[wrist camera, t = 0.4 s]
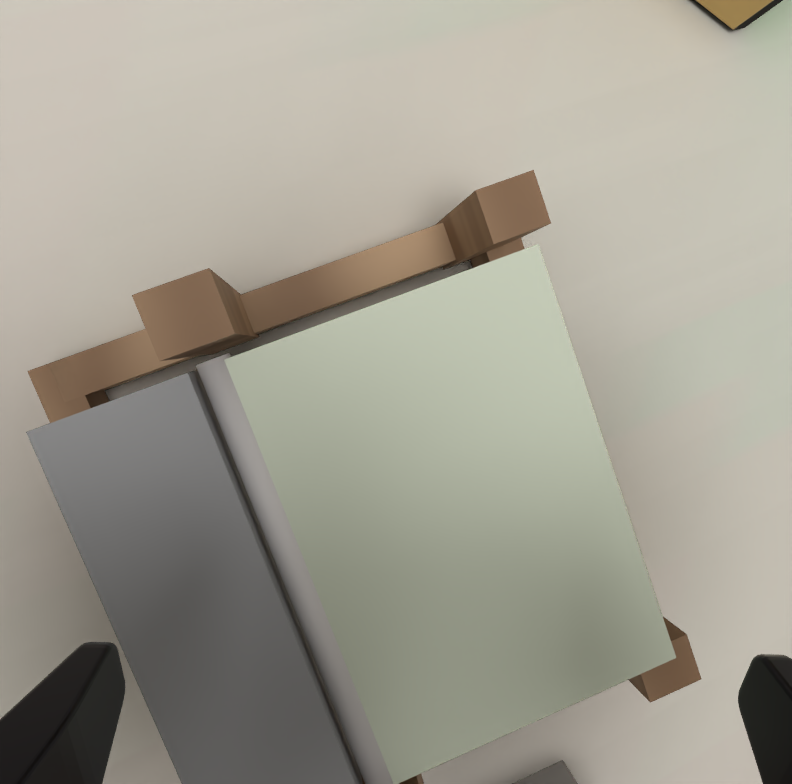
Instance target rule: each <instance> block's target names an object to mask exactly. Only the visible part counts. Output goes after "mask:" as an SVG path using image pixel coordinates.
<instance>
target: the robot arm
mask: <svg viewBox="0 0 792 784" xmlns="http://www.w3.org/2000/svg"><path fill="white" fill-rule="evenodd" d="M124 694H125V680H124V675H123V671H122V667H121V662H120V658H119V653H118V650H117V647H116V646H115V645H114V644H113V643H108V642H88V643H84V644H83V645H81V646H80V647H78V648H77V649H76V650H75V651H74V652H73V653H72V654H71V655H70V656H68V657H67V658H66V659H65V660H64V661H63V662H62V663H61V664H60V665H59V666H58V667H57V668H55V669H54V670H53V671H52V672H51V673H50V674H49V675H48V676H47V677H46V678H45V679H44V680H42V681H41V682H40V683H39V684H38V685H37V686H36V687H35V688H34V689H33V690H32V691H31V692H29V693H28V694H27V695H26V696H25V697H24V698H23V699H22V700H21V701H20V702H19V703H18V704H16V705H15V706H14V707H13V708H12V709H11V710H10V711H9V712H8V713H7V714H6V715H5V716H3V717H2V718H1V719H0V784H102V782H103V778H104V774H105V770H106V766H107V762H108V758H109V754H110V750H111V747H112V743H113V739H114V735H115V731H116V727H117V723H118V719H119V716H120V712H121V708H122V704H123V700H124ZM738 703H739V708H740V712H741V715H742V719H743V722H744V725H745V728H746V731H747V734H748V738H749V741H750V744H751V747H752V750H753V753H754V757H755V760H756V763H757V766H758V769H759V772H760V776H761V779H762V782H763V784H792V659H791V658H789V657H787V656H784V655H768V654H761V655H757V656H756V657H754V658H753V660H752V662H751V664H750V666H749V669H748V671H747V673H746V676H745V678H744V680H743V683H742V685H741V687H740V690H739V695H738Z"/></svg>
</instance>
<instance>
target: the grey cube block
mask: <svg viewBox="0 0 792 784" xmlns="http://www.w3.org/2000/svg"><path fill="white" fill-rule="evenodd" d="M512 784H578V783H577V782H576V780H575V779H574V777H573V776H572V774H571V772H570V771H569V769H568V768H567V766H566V765H565V763H564V761H563V760H562V761H560V762H558V763H556V764H553V765H551V766H549V767H547V768H545V769H543V770H540V771H538V772H536V773H534V774H532V775H530V776H527V777H525V778H523V779H521V780H519V781H517V782H514V783H512Z"/></svg>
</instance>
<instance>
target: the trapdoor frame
mask: <svg viewBox="0 0 792 784" xmlns="http://www.w3.org/2000/svg"><path fill="white" fill-rule="evenodd" d="M550 223H551V222H550V219H549V216H548V213H547V210H546V206H545V203H544V200H543V197H542V194H541V191H540V188H539V185H538V182H537V179H536V176H535V173H534V170H532V171H529V172H526V173H524V174H521V175H518V176H515V177H512V178H509V179H507V180H504V181H501V182H498V183H495V184H493V185H490V186H487V187H484V188H481V189H478V190H476V191H474V192H473V193H472V194H471V195H470V196H469V197H467V198H466V199H465V200H464V201H463V202H462V203H460V204H459V205H458V206H457V207H456V208H455V209H453V210H452V211H451V212H450V213H449V214H448V215H446V216H445V217H444V218H443V219H442V220H441V221H439V222H438V223H437V224H436V225H435V226H432V227H429V228H426V229H423V230H421V231H418V232H415V233H412V234H409V235H407V236H404V237H401V238H398V239H395V240H393V241H390V242H387V243H384V244H381V245H379V246H376V247H373V248H370V249H367V250H365V251H362V252H359V253H356V254H354V255H351V256H348V257H345V258H342V259H340V260H337V261H334V262H331V263H328V264H326V265H323V266H320V267H317V268H314V269H312V270H309V271H306V272H303V273H300V274H298V275H295V276H292V277H289V278H287V279H284V280H281V281H278V282H275V283H273V284H270V285H267V286H264V287H261V288H259V289H256V290H253V291H250V292H247V293H245V294H242V295H241V294H240V293H238V292H237V291H236V290H235V289H234V288H232V287H231V286H230V285H229V284H228V283H226V282H225V281H224V280H223V279H222V278H220V277H219V276H218V275H217V274H215V273H214V272H213V271H212V270H211V269H209V268H208V269H205V270H202V271H200V272H197V273H194V274H191V275H188V276H185V277H183V278H180V279H177V280H174V281H171V282H168V283H166V284H163V285H160V286H157V287H154V288H151V289H148V290H146V291H143V292H140V293H137V294H134V295H132V297H133V299H134V301H135V304H136V306H137V309H138V311H139V314H140V316H141V318H142V321H143V323H144V326H145V328H146V329H144V330H141V331H139V332H136V333H133V334H130V335H127V336H125V337H122V338H119V339H116V340H113V341H111V342H108V343H105V344H102V345H99V346H97V347H94V348H91V349H88V350H85V351H83V352H80V353H77V354H74V355H72V356H69V357H66V358H63V359H60V360H58V361H55V362H52V363H49V364H46V365H44V366H41V367H38V368H35V369H32V370H30V371H28V373H29V376H30V378H31V380H32V383H33V385H34V387H35V389H36V392H37V394H38V396H39V399H40V401H41V403H42V405H43V408H44V410H45V412H46V415H47V417H48V419H49V421H50V423H52V422H55V421H58V420H61V419H63V418H66V417H69V416H71V415H74V414H77V413H80V412H82V411H85V410H88V409H90V408H93V407H96V406H99V405H101V404H104V403H107V402H109V400H108V398H107V395H106V393H105V391H104V390H107V389H109V388H112V387H115V386H118V385H120V384H123V383H126V382H128V381H131V380H134V379H137V378H139V377H142V376H145V375H148V374H150V373H153V372H156V371H159V370H161V369H164V368H167V367H170V366H172V365H175V364H178V363H180V362H183V361H186V360H189V359H191V358H194V357H197V356H201V355H209V354H214V353H217V352H219V351H222V350H225V349H228V348H230V347H233V346H236V345H239V344H241V343H244V342H247V341H250V340H252V339H255V338H258V337H259V335H258V334H260V333H262V332H265V331H268V330H271V329H273V328H276V327H279V326H282V325H284V324H287V323H290V322H293V321H295V320H298V319H301V318H303V317H306V316H309V315H312V314H314V313H317V312H320V311H323V310H325V309H328V308H331V307H334V306H336V305H339V304H342V303H344V302H347V301H350V300H353V299H355V298H358V297H361V296H364V295H366V294H369V293H372V292H375V291H377V290H380V289H383V288H385V287H388V286H391V285H394V284H396V283H399V282H402V281H405V280H407V279H410V278H413V277H416V276H418V275H421V274H424V273H426V272H429V271H432V270H435V269H437V268H440V267H443V269H446V268H449V267H452V266H454V265H457V264H460V263H462V262H465V261H468V260H471V263H472V266H473V268H475V267H477V266H480V265H483V264H485V263H488V262H491V261H494V260H496V259H499V258H502V257H504V256H507V255H510V254H513V253H515V252H518V251H521V250H523V249H524V246H523V243H522V240H521V237H523V236H525V235H527V234H529V233H531V232H534V231H536V230H538V229H540V228H542V227H544V226H546V225H548V224H550ZM663 619H664V622H665V625H666V628H667V631H668V634H669V637H670V640H671V643H672V646H673V649H674V652H675V655H676V658H675V659H673V660H670V661H668V662H666V663H664V664H662V665H659V666H657V667H655V668H653V669H651V670H648V671H646V672H644V673H642V674H640V675H637V676H635V677H633V678H631V679H628V680H629V681H630V682H631V683H632V684H633V685H634V686H635V687H636V688H637V689H638V690H639V691H640V692H641V693H642V694H643V695H644V696H645V697H646V698H647V699H648V701H649V702H652V701H655V700H657V699H659V698H661V697H663V696H666V695H668V694H670V693H672V692H674V691H676V690H679V689H681V688H683V687H685V686H687V685H690V684H692V683H694V682H696V681H698V680H700V679H701V676H700V673H699V670H698V667H697V664H696V661H695V658H694V655H693V652H692V649H691V646H690V643H689V640H688V637H687V634H685V633H684V632H683V631H682V630H680V629H679V628H678V627H676V626H675V625H674V624H672V623H671V622H670V621H668V620H667V619H666V618H664V617H663ZM361 776H362V775H361ZM362 783H363V784H365V782H364V780H363V777H362ZM399 784H424V782H423V779H422V775H421V774H418V775H416V776H414V777H412V778H410V779H407V780H405V781H403V782H401V783H399Z"/></svg>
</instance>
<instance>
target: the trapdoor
mask: <svg viewBox="0 0 792 784" xmlns="http://www.w3.org/2000/svg"><path fill="white" fill-rule="evenodd" d="M196 368H197V370H196V371H192V372H189V373H186V374H183V375H180V376H177V377H175V378H172V379H169V380H167V381H164V382H161V383H158V384H156V385H153V386H150V387H147V388H145V389H142V390H139V391H137V392H134V393H131V394H128V395H126V396H123V397H120V398H118V399H115V400H112V401H109V402H107V403H104V404H101V405H99V406H96V407H93V408H90V409H88V410H85V411H82V412H80V413H77V414H74V415H71V416H69V417H66V418H63V419H61V420H58V421H55V422H52V423H50V424H47V425H44V426H41V427H39V428H36V429H33V430H31V431H28V432H26V433H27V435H28V437H29V440H30V442H31V444H32V446H33V449H34V451H35V453H36V455H37V458H38V460H39V462H40V464H41V467H42V469H43V471H44V473H45V476H46V478H47V480H48V482H49V485H50V487H51V489H52V491H53V494H54V496H55V498H56V501H57V503H58V505H59V507H60V510H61V512H62V514H63V516H64V519H65V521H66V523H67V525H68V528H69V530H70V532H71V534H72V537H73V539H74V541H75V543H76V546H77V548H78V550H79V552H80V555H81V557H82V559H83V561H84V564H85V566H86V568H87V571H88V573H89V575H90V577H91V580H92V582H93V584H94V586H95V589H96V591H97V593H98V595H99V598H100V600H101V602H102V604H103V607H104V609H105V611H106V613H107V616H108V618H109V620H110V622H111V625H112V627H113V629H114V631H115V634H116V636H117V638H118V641H119V643H120V645H121V647H122V650H123V652H124V654H125V656H126V659H127V661H128V663H129V665H130V668H131V670H132V672H133V674H134V677H135V679H136V681H137V683H138V686H139V688H140V690H141V692H142V695H143V697H144V699H145V701H146V704H147V706H148V708H149V711H150V713H151V715H152V717H153V720H154V722H155V724H156V726H157V729H158V731H159V733H160V735H161V738H162V740H163V742H164V744H165V747H166V749H167V751H168V753H169V756H170V758H171V760H172V762H173V765H174V767H175V769H176V771H177V774H178V776H179V778H180V781H181V783H182V784H363V783H362V777H363V780H364V782H365V784H399V783H401V782H403V781H405V780H407V779H410V778H412V777H414V776H416V775H418V774H421V773H423V772H425V771H427V770H429V769H432V768H434V767H436V766H438V765H440V764H443V763H445V762H447V761H449V760H452V759H454V758H456V757H458V756H460V755H463V754H465V753H467V752H469V751H471V750H474V749H476V748H478V747H480V746H483V745H485V744H487V743H489V742H491V741H494V740H496V739H498V738H500V737H502V736H505V735H507V734H509V733H511V732H513V731H516V730H518V729H520V728H522V727H525V726H527V725H529V724H531V723H533V722H536V721H538V720H540V719H542V718H544V717H547V716H549V715H551V714H553V713H555V712H558V711H560V710H562V709H564V708H567V707H569V706H571V705H573V704H575V703H578V702H580V701H582V700H584V699H586V698H589V697H591V696H593V695H595V694H597V693H600V692H602V691H604V690H606V689H609V688H611V687H613V686H615V685H617V684H620V683H622V682H624V681H626V680H628V679H631V678H633V677H635V676H637V675H640V674H642V673H644V672H646V671H648V670H651V669H653V668H655V667H657V666H659V665H662V664H664V663H666V662H668V661H670V660H673V659H675V658H676V655H675V652H674V649H673V646H672V643H671V640H670V637H669V634H668V631H667V628H666V625H665V622H664V619H663V616H662V613H661V610H660V607H659V604H658V601H657V598H656V595H655V592H654V589H653V586H652V583H651V580H650V577H649V574H648V571H647V568H646V565H645V562H644V559H643V556H642V553H641V550H640V547H639V544H638V541H637V538H636V535H635V532H634V529H633V526H632V523H631V520H630V517H629V514H628V511H627V508H626V505H625V502H624V499H623V496H622V493H621V490H620V487H619V484H618V481H617V478H616V475H615V472H614V469H613V466H612V463H611V460H610V457H609V454H608V451H607V448H606V445H605V442H604V439H603V436H602V433H601V430H600V427H599V424H598V421H597V418H596V415H595V412H594V409H593V406H592V403H591V400H590V397H589V394H588V391H587V388H586V385H585V382H584V379H583V376H582V373H581V370H580V367H579V364H578V361H577V358H576V355H575V352H574V349H573V346H572V343H571V340H570V337H569V334H568V331H567V328H566V325H565V322H564V319H563V316H562V313H561V310H560V307H559V304H558V301H557V298H556V295H555V292H554V289H553V286H552V283H551V280H550V277H549V274H548V271H547V268H546V265H545V262H544V259H543V256H542V253H541V250H540V247H539V244H537V245H534V246H532V247H529V248H526V249H523V250H521V251H518V252H515V253H513V254H510V255H507V256H504V257H502V258H499V259H496V260H494V261H491V262H488V263H485V264H483V265H480V266H477V267H475V268H472V269H469V270H466V271H464V272H461V273H458V274H456V275H453V276H450V277H447V278H445V279H442V280H439V281H436V282H434V283H431V284H428V285H426V286H423V287H420V288H417V289H415V290H412V291H409V292H407V293H404V294H401V295H398V296H396V297H393V298H390V299H388V300H385V301H382V302H379V303H377V304H374V305H371V306H369V307H366V308H363V309H360V310H358V311H355V312H352V313H350V314H347V315H344V316H341V317H339V318H336V319H333V320H331V321H328V322H325V323H322V324H320V325H317V326H314V327H311V328H309V329H306V330H303V331H301V332H298V333H295V334H292V335H290V336H287V337H284V338H282V339H279V340H276V341H273V342H271V343H268V344H265V345H263V346H260V347H257V348H254V349H252V350H249V351H246V352H244V353H241V354H238V355H235V356H233V357H231V355H230V353H228V354H225V355H222V356H219V357H217V358H214V359H211V360H208V361H206V362H203V363H200V364H198V365H196ZM361 775H362V776H361Z"/></svg>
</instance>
